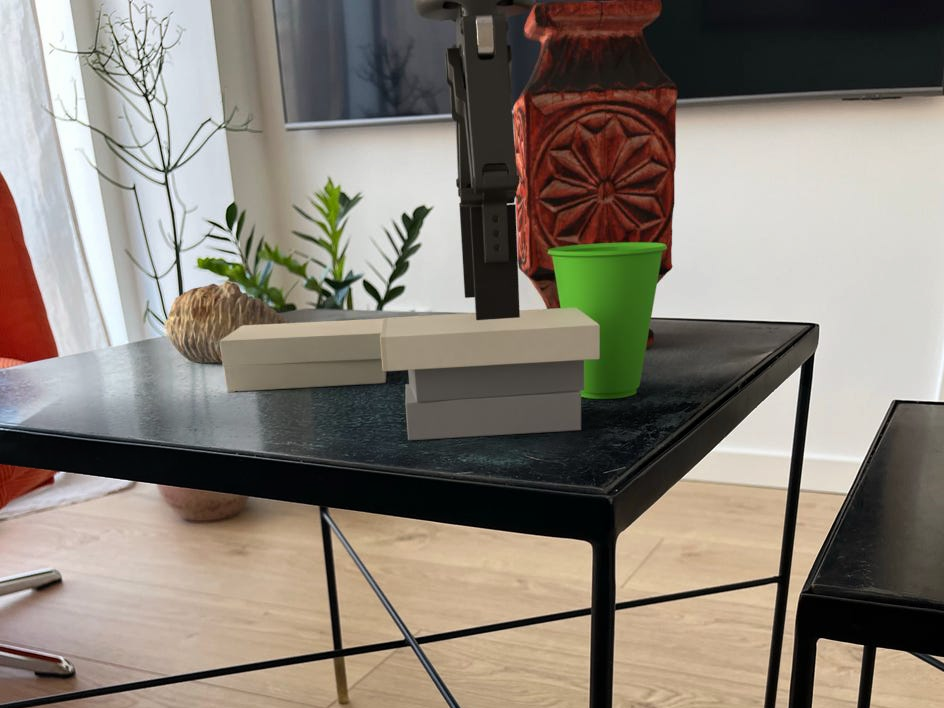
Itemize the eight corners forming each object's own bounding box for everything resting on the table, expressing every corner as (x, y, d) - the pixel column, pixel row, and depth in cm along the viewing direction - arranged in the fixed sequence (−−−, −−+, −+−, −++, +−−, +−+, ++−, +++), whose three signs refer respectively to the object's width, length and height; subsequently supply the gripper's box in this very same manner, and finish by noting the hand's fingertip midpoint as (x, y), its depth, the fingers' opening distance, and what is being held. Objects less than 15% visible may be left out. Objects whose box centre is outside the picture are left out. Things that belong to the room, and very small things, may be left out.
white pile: (225, 393, 89) (217, 341, 87) (243, 372, 99) (236, 325, 97) (390, 384, 90) (386, 332, 88) (392, 364, 99) (388, 317, 98)
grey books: (408, 441, 70) (402, 367, 67) (408, 417, 76) (403, 349, 74) (586, 430, 70) (586, 356, 68) (570, 408, 77) (569, 340, 75)
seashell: (173, 395, 111) (123, 313, 104) (230, 343, 116) (186, 261, 109) (258, 401, 103) (210, 313, 96) (315, 345, 108) (273, 258, 101)
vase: (643, 331, 112) (650, 14, 99) (670, 349, 99) (682, -10, 87) (518, 338, 112) (509, 21, 99) (529, 357, 99) (521, -2, 87)
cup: (536, 402, 79) (532, 253, 75) (567, 381, 87) (566, 243, 82) (650, 406, 76) (653, 250, 72) (672, 383, 84) (677, 241, 80)
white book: (382, 371, 66) (379, 336, 65) (385, 348, 75) (383, 317, 74) (599, 359, 67) (599, 324, 66) (576, 337, 76) (576, 307, 75)
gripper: (562, -123, 50) (570, 325, 59) (513, -27, 72) (524, 286, 81) (409, -115, 49) (440, 334, 58) (409, -21, 72) (431, 292, 81)
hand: (489, 307), depth 70 cm, fingers open, 13 cm apart
